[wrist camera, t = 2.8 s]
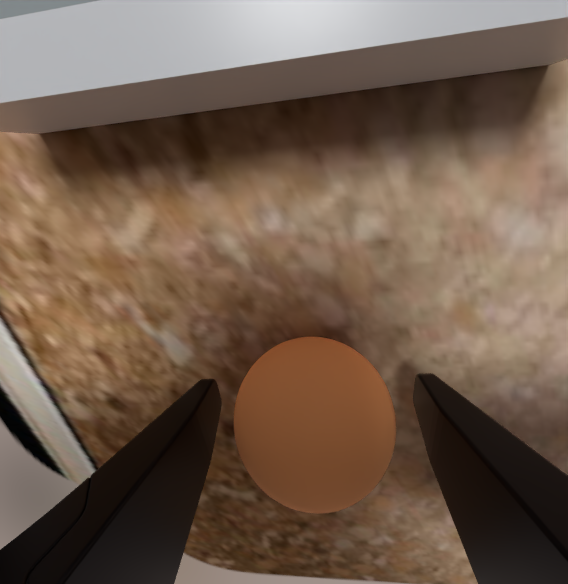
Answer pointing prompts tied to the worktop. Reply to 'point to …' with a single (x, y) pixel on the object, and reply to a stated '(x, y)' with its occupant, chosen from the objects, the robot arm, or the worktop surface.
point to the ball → (314, 425)
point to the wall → (252, 53)
